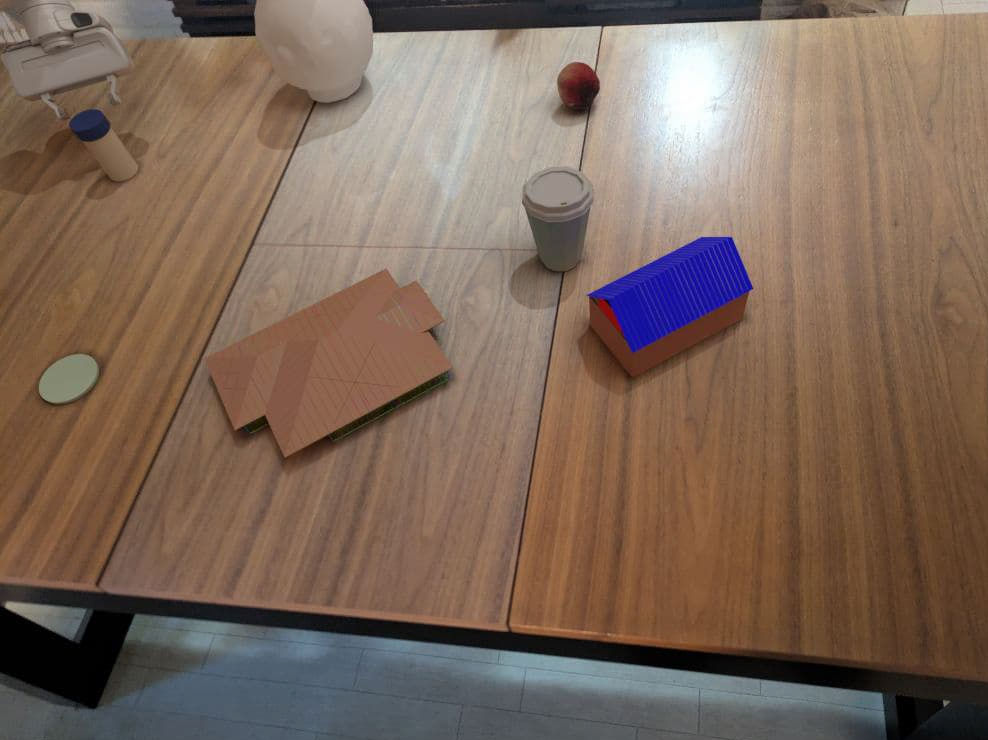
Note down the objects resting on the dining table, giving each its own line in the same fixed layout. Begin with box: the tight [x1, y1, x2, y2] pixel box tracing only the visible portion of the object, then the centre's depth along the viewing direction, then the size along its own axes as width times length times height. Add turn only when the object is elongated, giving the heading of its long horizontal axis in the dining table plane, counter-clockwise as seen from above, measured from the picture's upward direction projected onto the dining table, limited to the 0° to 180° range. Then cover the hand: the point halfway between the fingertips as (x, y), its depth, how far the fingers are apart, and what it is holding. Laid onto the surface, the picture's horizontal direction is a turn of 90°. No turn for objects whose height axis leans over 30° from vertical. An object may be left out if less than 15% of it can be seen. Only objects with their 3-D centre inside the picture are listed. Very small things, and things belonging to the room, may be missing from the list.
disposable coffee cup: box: [521, 166, 595, 272], centre depth 107 cm, size 11×11×15 cm
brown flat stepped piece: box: [204, 268, 454, 459], centre depth 102 cm, size 23×33×8 cm
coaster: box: [38, 353, 100, 405], centre depth 109 cm, size 9×9×1 cm
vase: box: [253, 0, 374, 104], centre depth 130 cm, size 19×21×30 cm
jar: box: [81, 125, 139, 182], centre depth 130 cm, size 6×6×11 cm
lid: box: [68, 108, 111, 142], centre depth 126 cm, size 6×6×2 cm
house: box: [585, 236, 754, 378], centre depth 100 cm, size 12×20×12 cm, turn 120°
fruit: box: [556, 61, 601, 111], centre depth 129 cm, size 8×8×8 cm
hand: (90, 111), depth 129 cm, fingers open, 8 cm apart
